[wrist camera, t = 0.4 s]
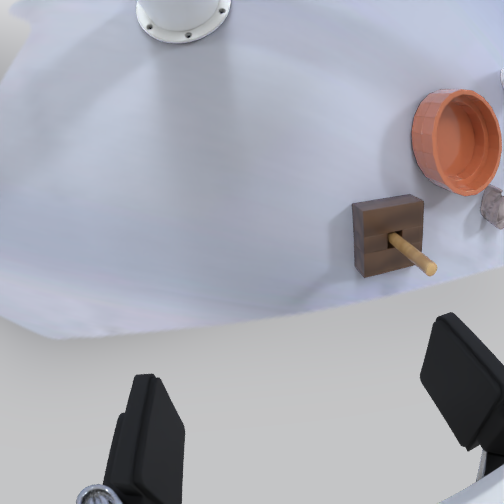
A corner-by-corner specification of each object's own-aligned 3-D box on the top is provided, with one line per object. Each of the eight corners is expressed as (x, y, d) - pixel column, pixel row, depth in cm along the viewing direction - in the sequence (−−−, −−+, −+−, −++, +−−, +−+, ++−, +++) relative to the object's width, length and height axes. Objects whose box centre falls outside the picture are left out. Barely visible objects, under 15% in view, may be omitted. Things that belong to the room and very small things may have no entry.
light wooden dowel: (378, 226, 46) (426, 264, 33) (387, 224, 46) (437, 261, 33) (378, 236, 47) (425, 277, 34) (387, 234, 47) (436, 274, 34)
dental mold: (474, 197, 46) (491, 205, 41) (493, 178, 44) (511, 184, 40) (483, 229, 49) (499, 238, 44) (502, 209, 47) (518, 217, 43)
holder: (351, 203, 44) (362, 211, 40) (410, 194, 44) (423, 200, 41) (354, 266, 49) (364, 278, 45) (408, 253, 49) (420, 263, 45)
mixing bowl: (404, 87, 37) (426, 86, 32) (475, 93, 38) (498, 94, 32) (412, 191, 44) (433, 201, 39) (479, 182, 44) (500, 190, 39)
